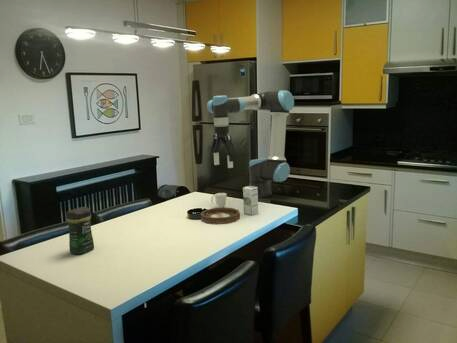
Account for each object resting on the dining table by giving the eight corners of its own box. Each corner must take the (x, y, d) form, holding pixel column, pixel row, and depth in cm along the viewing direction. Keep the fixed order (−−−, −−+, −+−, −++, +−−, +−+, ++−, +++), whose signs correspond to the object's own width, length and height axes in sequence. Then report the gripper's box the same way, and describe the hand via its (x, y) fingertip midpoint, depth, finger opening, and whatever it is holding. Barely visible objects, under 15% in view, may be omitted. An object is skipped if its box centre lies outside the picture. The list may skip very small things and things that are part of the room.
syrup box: (258, 213, 216) (258, 186, 214) (251, 215, 212) (250, 188, 209) (250, 211, 220) (249, 185, 217) (243, 214, 216) (242, 187, 213)
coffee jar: (80, 256, 165) (75, 212, 162) (66, 253, 168) (61, 210, 165) (98, 248, 173) (93, 206, 170) (84, 246, 177) (79, 204, 174)
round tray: (225, 210, 223) (225, 205, 223) (247, 218, 207) (247, 212, 207) (194, 217, 212) (193, 212, 212) (214, 226, 196) (214, 220, 196)
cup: (223, 210, 225) (222, 196, 224) (208, 208, 230) (207, 194, 229) (229, 207, 231) (229, 193, 229) (215, 205, 236) (214, 192, 235)
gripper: (203, 125, 218) (205, 164, 222) (228, 127, 197) (230, 170, 201) (215, 124, 222) (217, 162, 225) (241, 125, 201) (242, 168, 205)
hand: (223, 166), depth 213 cm, fingers open, 13 cm apart
